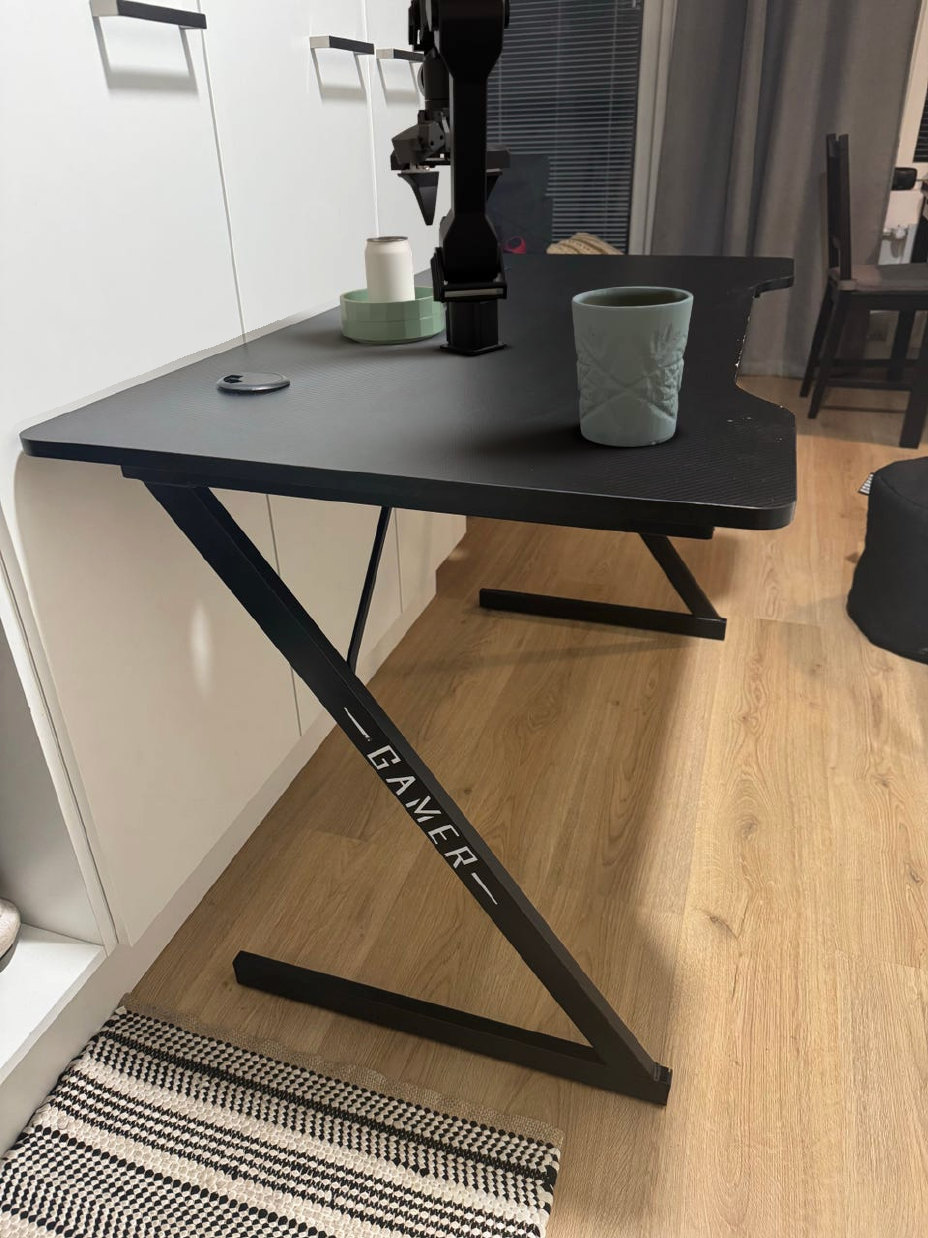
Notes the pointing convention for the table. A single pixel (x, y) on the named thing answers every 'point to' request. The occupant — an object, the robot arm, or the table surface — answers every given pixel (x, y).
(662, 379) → the drinking glass
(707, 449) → the table surface
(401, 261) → the can
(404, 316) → the mint green shallow bowl
